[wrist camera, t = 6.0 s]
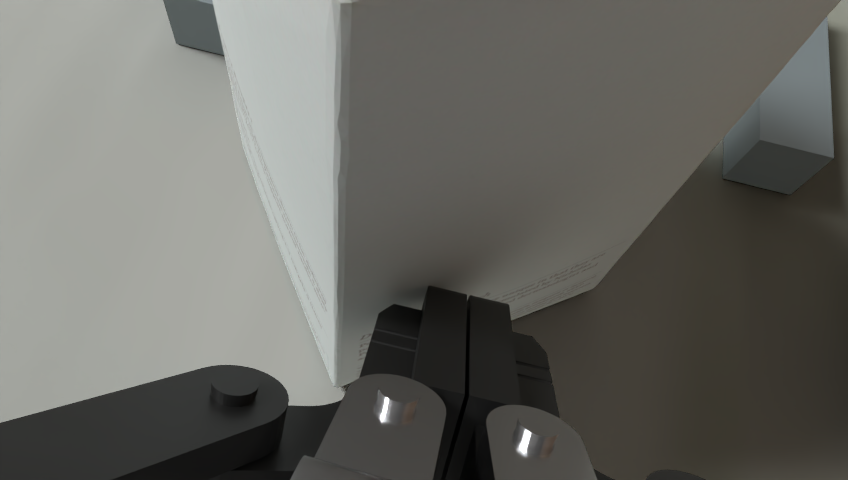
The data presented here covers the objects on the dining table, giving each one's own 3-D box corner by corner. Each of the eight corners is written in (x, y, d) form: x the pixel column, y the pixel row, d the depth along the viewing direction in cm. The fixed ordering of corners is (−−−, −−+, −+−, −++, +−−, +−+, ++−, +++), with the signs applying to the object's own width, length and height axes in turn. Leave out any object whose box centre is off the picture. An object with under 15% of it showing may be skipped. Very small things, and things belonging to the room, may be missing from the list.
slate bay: (790, 194, 20) (834, 158, 19) (176, 43, 20) (160, -9, 18) (787, 14, 23) (825, -33, 22) (254, -119, 23) (247, -177, 22)
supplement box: (602, 292, 18) (1032, -165, 7) (329, 396, 17) (313, -2, 5) (484, 72, 21) (658, -521, 10) (236, 140, 19) (90, -498, 8)
